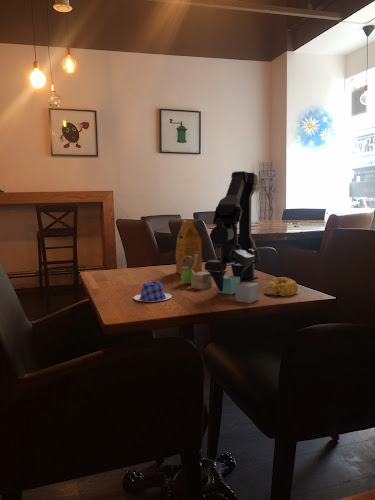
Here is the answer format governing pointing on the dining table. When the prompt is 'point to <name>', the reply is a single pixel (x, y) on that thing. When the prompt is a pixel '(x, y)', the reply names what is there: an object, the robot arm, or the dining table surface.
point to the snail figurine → (188, 268)
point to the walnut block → (201, 280)
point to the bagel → (281, 287)
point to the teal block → (230, 284)
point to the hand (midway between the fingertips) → (229, 288)
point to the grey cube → (247, 292)
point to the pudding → (152, 292)
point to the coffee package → (188, 246)
